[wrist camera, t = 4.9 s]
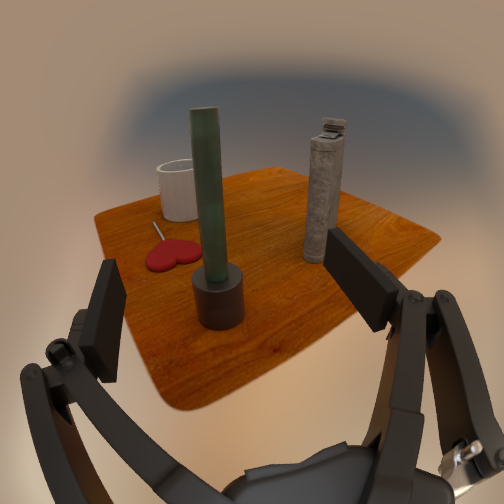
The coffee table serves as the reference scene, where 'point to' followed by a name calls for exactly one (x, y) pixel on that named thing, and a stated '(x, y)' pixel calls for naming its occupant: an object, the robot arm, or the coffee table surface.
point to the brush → (213, 228)
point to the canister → (177, 190)
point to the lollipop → (172, 253)
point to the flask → (323, 187)
